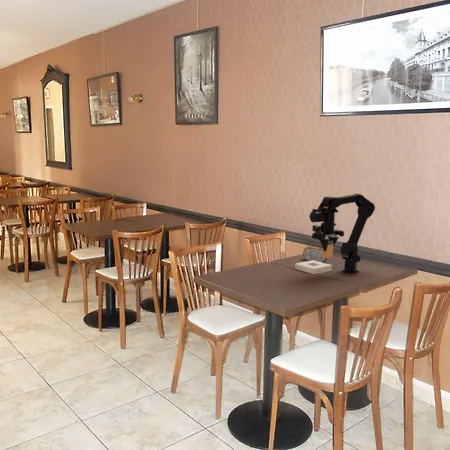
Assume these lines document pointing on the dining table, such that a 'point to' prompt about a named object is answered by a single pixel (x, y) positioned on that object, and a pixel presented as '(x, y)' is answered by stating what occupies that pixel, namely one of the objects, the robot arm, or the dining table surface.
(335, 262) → the dining table surface
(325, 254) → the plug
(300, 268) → the socket block
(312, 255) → the tin
